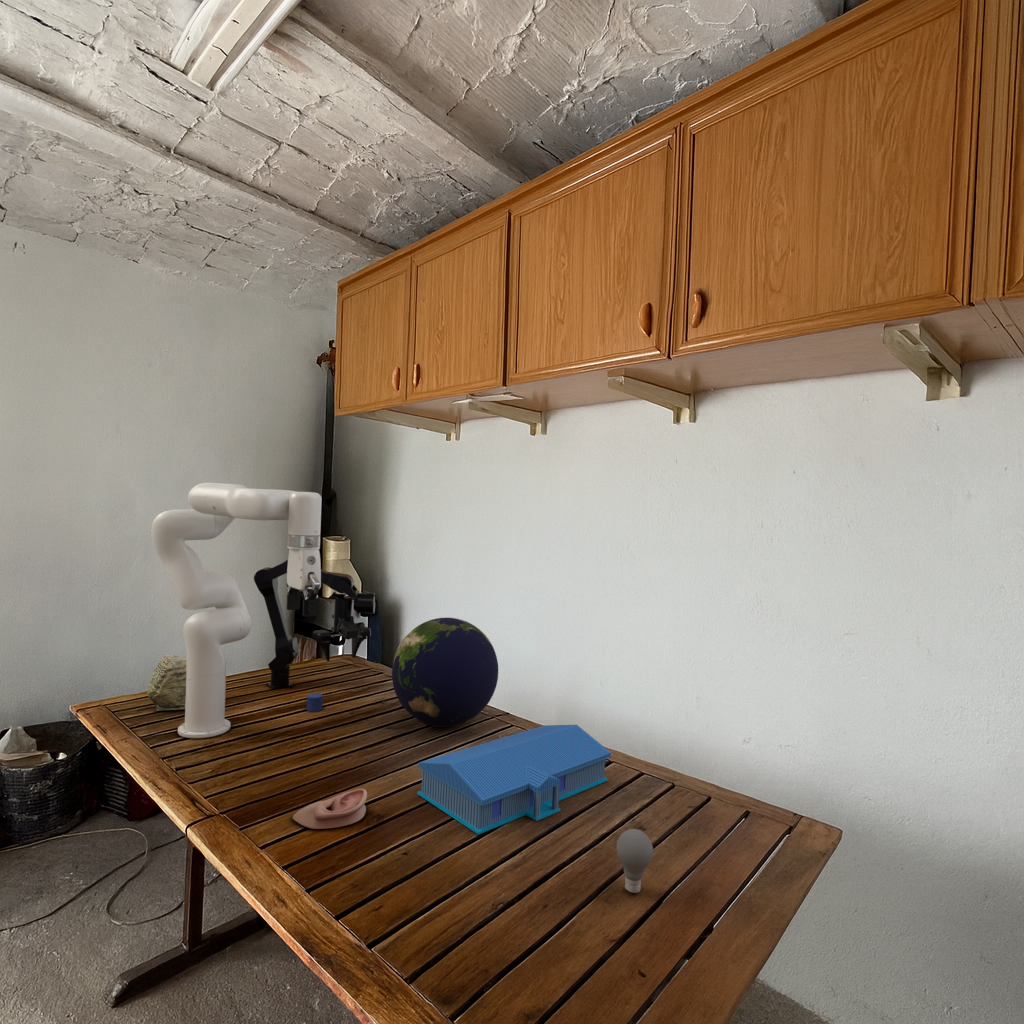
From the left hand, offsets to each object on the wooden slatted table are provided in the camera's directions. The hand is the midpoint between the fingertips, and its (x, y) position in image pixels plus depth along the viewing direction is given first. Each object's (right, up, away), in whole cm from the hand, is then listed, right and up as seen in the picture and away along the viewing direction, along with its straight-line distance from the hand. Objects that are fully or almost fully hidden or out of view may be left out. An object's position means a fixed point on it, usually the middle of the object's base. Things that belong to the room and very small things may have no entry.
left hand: (301, 612), depth 154 cm
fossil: (-45, -32, +31) cm, 63 cm away
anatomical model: (+15, -36, -28) cm, 48 cm away
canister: (-7, -34, +33) cm, 48 cm away
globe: (+32, -36, +26) cm, 54 cm away
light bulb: (+71, -39, -48) cm, 95 cm away
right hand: (-6, -25, +57) cm, 62 cm away
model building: (+53, -37, -13) cm, 66 cm away
